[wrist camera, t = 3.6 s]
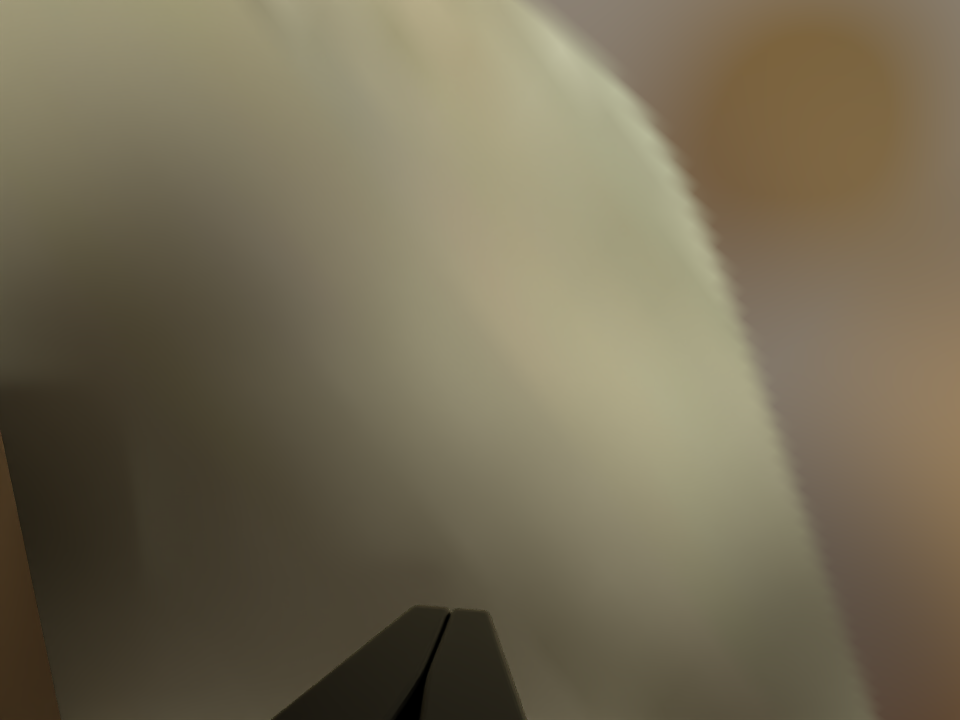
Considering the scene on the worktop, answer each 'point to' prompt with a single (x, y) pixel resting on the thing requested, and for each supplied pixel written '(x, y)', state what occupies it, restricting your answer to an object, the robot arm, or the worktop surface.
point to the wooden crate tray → (20, 622)
